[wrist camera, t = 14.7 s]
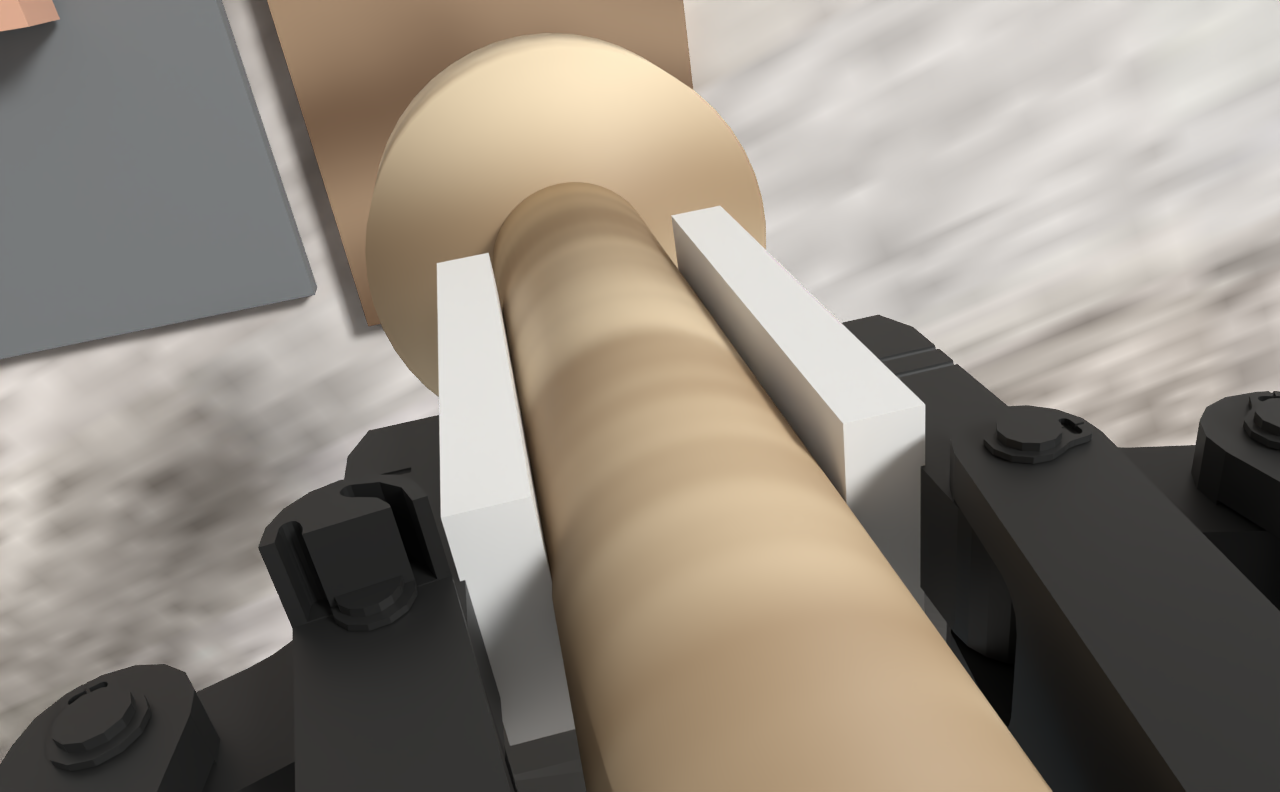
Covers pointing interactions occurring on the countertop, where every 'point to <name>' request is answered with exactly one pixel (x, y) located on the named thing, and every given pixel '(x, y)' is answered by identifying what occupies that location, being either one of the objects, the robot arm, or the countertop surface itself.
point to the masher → (665, 445)
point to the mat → (134, 177)
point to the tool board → (425, 73)
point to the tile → (26, 13)
